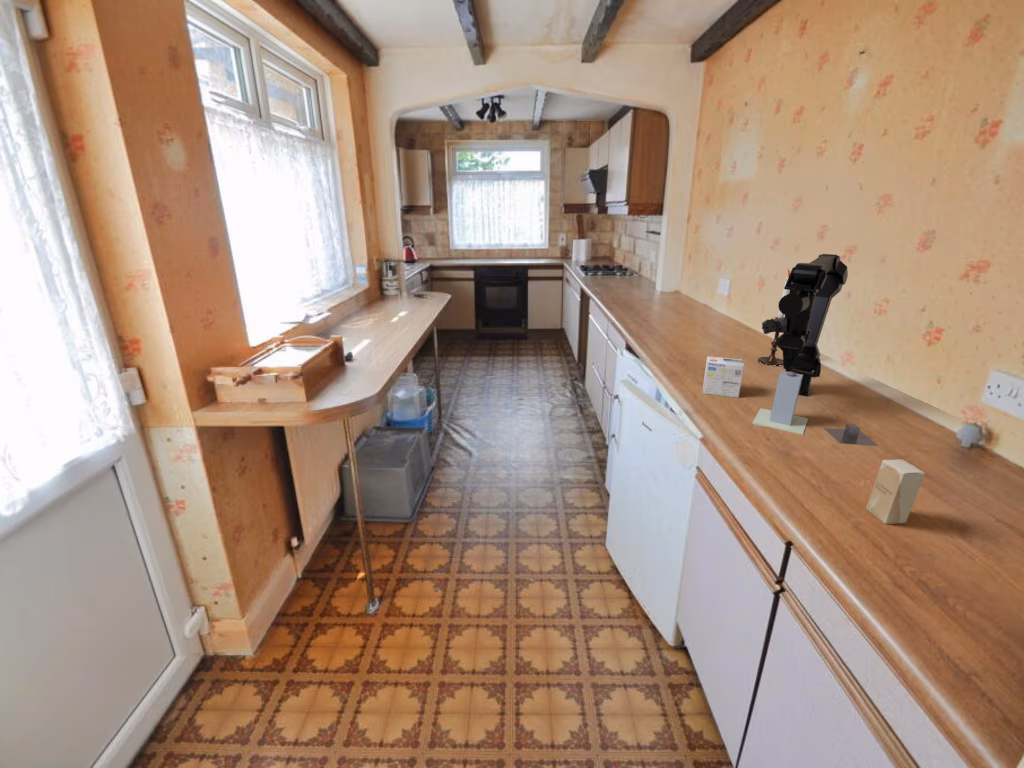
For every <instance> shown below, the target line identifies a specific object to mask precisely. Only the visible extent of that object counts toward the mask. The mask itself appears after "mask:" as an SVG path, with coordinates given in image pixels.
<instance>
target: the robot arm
mask: <svg viewBox="0 0 1024 768" xmlns="http://www.w3.org/2000/svg"><path fill="white" fill-rule="evenodd" d="M848 270H849V269H848V266H847V265H846V264H845V263H844V262H843V261H842V260H841V256H840V255H838V254H831V253H822V254H819V255H818V256H817V258H815V259H814V260H812V261H811V262H798V263H796V264H795V266H793V267H792V269H791V271H790V275H789V278H788V277H787V279H788V280H787V279H786V281H787V282H786V285H785V287H784V286H783V289H786V290H789V294H787V295H785V296H783V297H782V296H781V298H780V300H779V301H778V311H779V310H780V312H781V313H782V314H784V317H783V318H777V319H775V318H773V317H772V318H770V319H766V320H764V321H763V322H761V329H762V330H763V334H764V335H769V334H770V333H775V332H776V331H781V330H782V331H781V332H780V334H781V335H780V334H779V337H778V340H777V348H779V349H780V350H781V351H782V360H783V366H782V367H783V369H784V370H785V372H788V371H792V372H795V373H796V374H801V375H803V377H802V382H801V386H800V390H799V394H798V395H800V396H806V397H808V396H810V393H811V388H810V386H811V382H812V378H813V379H815V378H819V377H821V372H822V362H821V358H820V357H821V352H820V349H819V346H818V343H819V339H820V336H821V333H822V330H823V328H824V324H825V322H826V319H827V318H826V317H827V315H828V312H829V309H830V305H831V302H832V300H833V298H834V297H835V296H837V295H838V294H839V293H841V291H842V288H843V286H845V284H846V282H847V279H848V276H849V274H848V273H849V272H848ZM762 326H763V327H762Z"/></svg>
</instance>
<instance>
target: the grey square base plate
mask: <svg viewBox="0 0 1024 768" xmlns="http://www.w3.org/2000/svg"><path fill="white" fill-rule="evenodd" d="M823 429H824V431H826V432H827V433H828V434H829V435H830V436H831V437H832V438H834V440H836V442H838V444H843V445H853V446H854V445H856V446H857V445H858V446H868V447H869V446H870V447H880V446H879V445H878V443H876V442H875V441H874V440H872V439H871V438H870V437H869V436H868V435H866V434H865V433H864V432H863V431H862V430H861V428H860V426H858V425H857V424H853V423H846V424H845V428H832V427H831V428H830V427H823Z"/></svg>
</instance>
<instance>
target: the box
mask: <svg viewBox="0 0 1024 768" xmlns="http://www.w3.org/2000/svg"><path fill="white" fill-rule="evenodd" d="M925 474H926V473H925V472H924V471H923V470H921V469H919V468H918V467H916V466H915V465H913V464H911V463H909V462H907V461H906V460H904V459H901V458H900V459H899V458H898V459H883V460H882V461H881V464H880V467H879V470H878V472H877V476H876V478H875V481H874V485H873V487H872V490H871V493H870V496H869V498H868V501H867V505H866V507H865V509H866V510H867V511H868V512H870V514H872V515H874V517H876V518H877V519H878V520H879V521H881V522H882V523H884V524H885V525H895V524H896V525H897V524H906V523H907V521H908V518H909V516H910V513H911V511H912V508H913V505H914V504H915V501H916V498H917V495H918V492H919V490H920V487H921V484H922V483H923V479H924V478H925Z"/></svg>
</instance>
